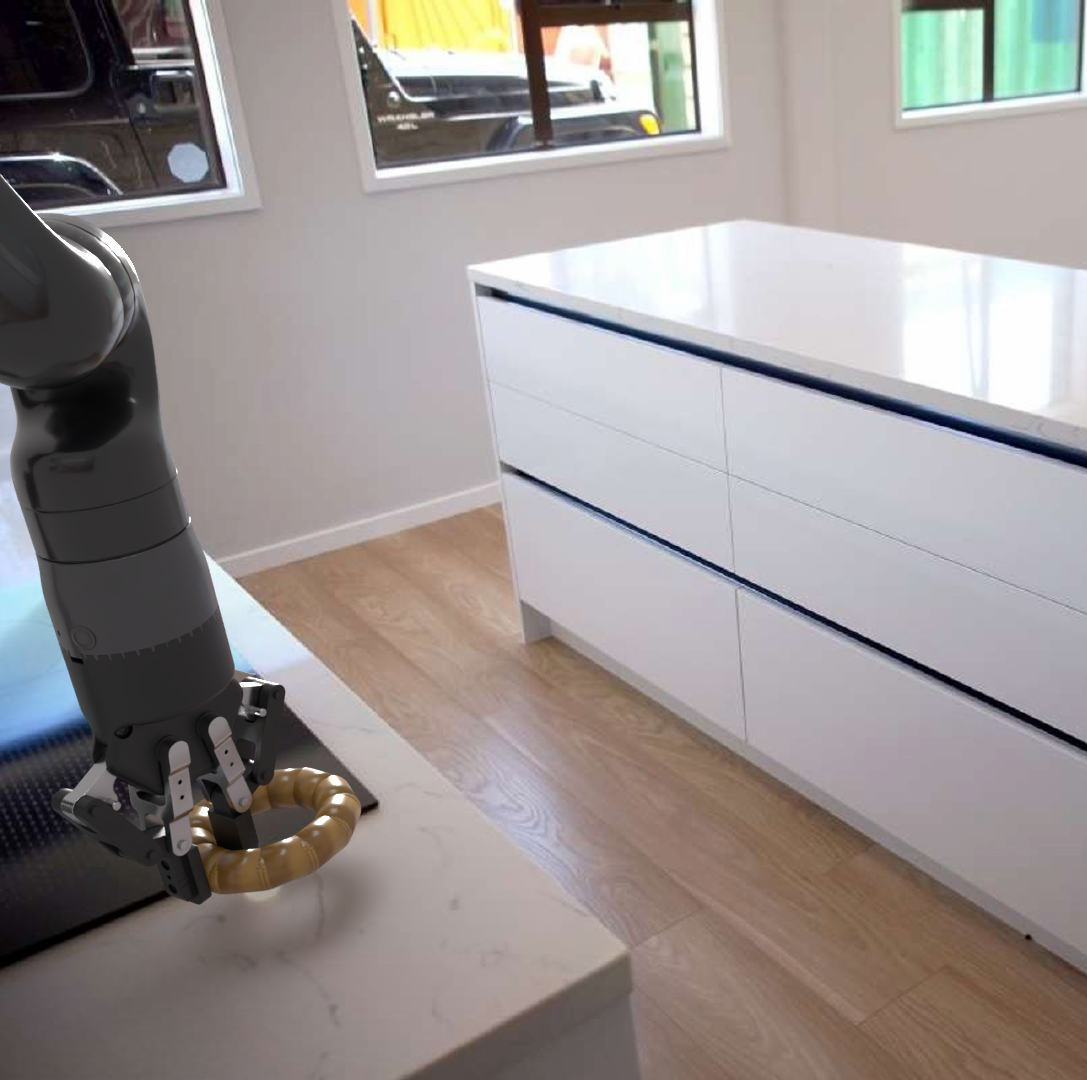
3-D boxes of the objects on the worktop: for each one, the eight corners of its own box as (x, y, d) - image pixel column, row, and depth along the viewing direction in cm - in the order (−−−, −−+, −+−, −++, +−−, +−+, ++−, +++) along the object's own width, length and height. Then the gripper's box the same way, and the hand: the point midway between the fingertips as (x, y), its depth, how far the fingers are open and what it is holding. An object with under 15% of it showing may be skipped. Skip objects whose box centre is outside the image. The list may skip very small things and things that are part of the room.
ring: (267, 921, 68) (257, 886, 67) (137, 875, 72) (126, 841, 71) (398, 814, 76) (391, 782, 75) (275, 778, 80) (267, 747, 79)
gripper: (198, 550, 71) (264, 798, 78) (-41, 664, 59) (62, 942, 66) (294, 570, 68) (354, 825, 75) (62, 693, 56) (159, 981, 63)
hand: (217, 879), depth 71 cm, fingers closed on ring, 2 cm apart
